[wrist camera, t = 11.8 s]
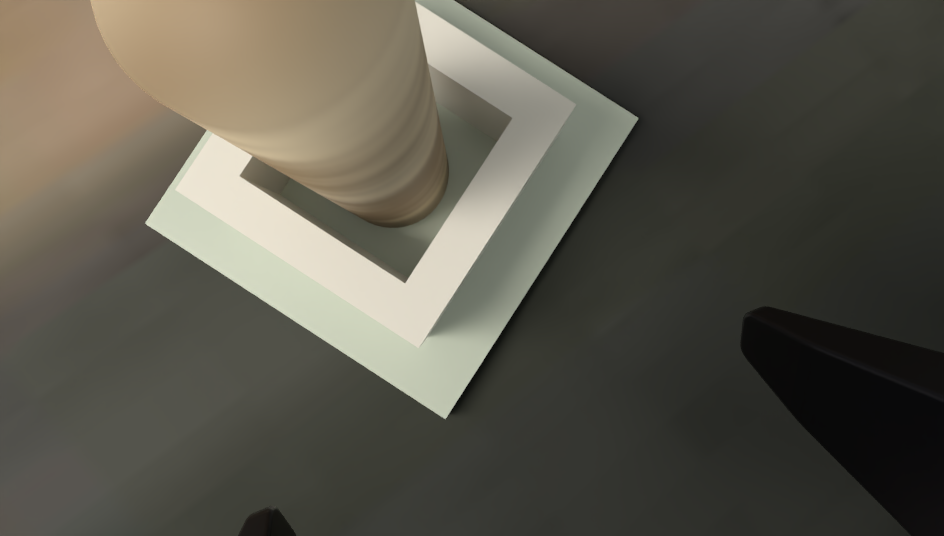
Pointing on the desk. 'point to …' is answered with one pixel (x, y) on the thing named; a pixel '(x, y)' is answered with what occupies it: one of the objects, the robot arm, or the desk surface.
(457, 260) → the socket
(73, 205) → the desk surface
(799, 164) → the desk surface
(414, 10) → the peg
